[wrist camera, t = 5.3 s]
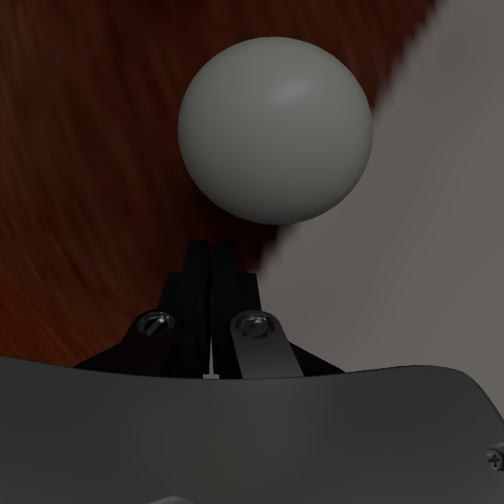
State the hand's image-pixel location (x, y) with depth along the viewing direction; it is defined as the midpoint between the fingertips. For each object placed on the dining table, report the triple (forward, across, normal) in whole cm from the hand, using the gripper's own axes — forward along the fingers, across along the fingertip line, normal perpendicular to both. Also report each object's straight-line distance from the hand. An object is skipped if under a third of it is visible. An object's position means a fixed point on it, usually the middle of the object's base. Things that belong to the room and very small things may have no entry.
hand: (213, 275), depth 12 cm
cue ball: (-1, -2, -6) cm, 6 cm away
